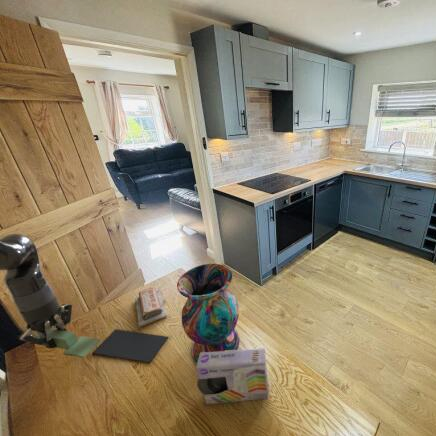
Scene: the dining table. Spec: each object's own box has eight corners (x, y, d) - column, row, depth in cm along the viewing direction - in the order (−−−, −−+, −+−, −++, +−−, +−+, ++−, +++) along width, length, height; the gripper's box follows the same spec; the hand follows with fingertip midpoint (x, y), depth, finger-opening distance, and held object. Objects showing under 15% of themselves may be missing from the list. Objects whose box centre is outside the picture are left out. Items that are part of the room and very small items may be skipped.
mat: (92, 353, 82) (92, 352, 82) (115, 329, 92) (115, 329, 91) (150, 362, 80) (149, 362, 80) (168, 337, 89) (168, 336, 89)
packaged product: (132, 292, 104) (158, 283, 109) (135, 300, 106) (160, 292, 111) (136, 319, 90) (165, 308, 96) (139, 328, 92) (167, 316, 98)
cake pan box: (201, 406, 68) (191, 366, 61) (206, 388, 73) (197, 349, 66) (268, 402, 70) (266, 362, 62) (268, 384, 74) (266, 345, 67)
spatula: (33, 349, 73) (27, 339, 71) (54, 333, 79) (48, 323, 77) (83, 358, 71) (78, 347, 69) (101, 340, 77) (97, 330, 75)
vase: (240, 320, 97) (234, 258, 84) (243, 362, 81) (236, 293, 68) (192, 328, 93) (179, 265, 80) (185, 375, 76) (167, 304, 64)
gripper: (50, 283, 75) (70, 323, 82) (-6, 317, 62) (22, 361, 69) (71, 286, 74) (89, 326, 81) (18, 321, 61) (44, 365, 68)
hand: (58, 342), depth 75 cm, fingers closed on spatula, 3 cm apart
